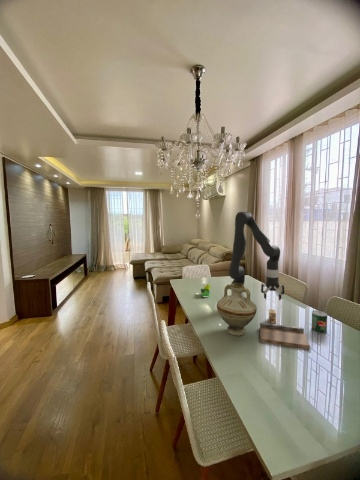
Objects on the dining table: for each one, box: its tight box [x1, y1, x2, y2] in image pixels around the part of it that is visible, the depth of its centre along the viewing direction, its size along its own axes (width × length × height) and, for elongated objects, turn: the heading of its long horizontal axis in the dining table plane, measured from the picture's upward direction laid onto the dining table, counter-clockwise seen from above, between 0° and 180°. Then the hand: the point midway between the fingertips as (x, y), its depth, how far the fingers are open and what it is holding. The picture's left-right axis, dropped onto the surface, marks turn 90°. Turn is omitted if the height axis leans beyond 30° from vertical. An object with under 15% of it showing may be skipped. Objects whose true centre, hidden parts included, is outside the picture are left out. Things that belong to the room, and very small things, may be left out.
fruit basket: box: [200, 283, 211, 297], centre depth 193 cm, size 11×9×11 cm
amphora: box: [216, 283, 258, 337], centre depth 129 cm, size 24×24×30 cm
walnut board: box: [259, 322, 311, 350], centre depth 122 cm, size 24×16×4 cm, turn 70°
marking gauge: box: [268, 308, 277, 325], centre depth 139 cm, size 4×12×7 cm, turn 160°
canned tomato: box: [311, 310, 328, 335], centre depth 128 cm, size 8×8×11 cm
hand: (272, 299), depth 141 cm, fingers open, 8 cm apart
